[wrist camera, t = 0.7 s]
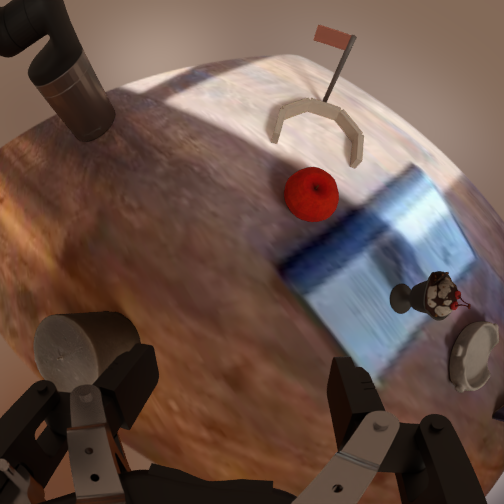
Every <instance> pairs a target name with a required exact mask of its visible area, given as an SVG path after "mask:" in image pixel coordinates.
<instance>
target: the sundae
mask: <svg viewBox="0 0 504 504" xmlns="http://www.w3.org/2000/svg"><path fill="white" fill-rule="evenodd" d="M448 274H449V272H441V271H437V272H432V273H431V275H430V276H429V278H428V280H427V281H424V282H422V283H419V284H417V285H416V286H414V287H413V288H412V290H411V289H410V288H409V287H408V286H407V285H405V284H398V285H397V286H395V287H394V288H393V290H392V292H391V295H390V303H391V306H392V308H393V310H394V311H395V312H397V313H399V314H403V313H405V312H407V311H408V310H409V309H410V307H412V308H413V309H415V310H417V311H420V312H423V313H427V314H428V315H430V316H431V317H432V318H433V319H435V320H443V319H445V318H446V317H447V316H448V315H449V314H450V313H451V312H452V310H456V309H457V307H458V306H466V307H468V309H470V304H468V303H466V302H464V301H463V300H462V298H461V292H460V291H458V290H457V286H456V285H455V284H454V283H453V282H452V280H451V278H450V276H449V275H448ZM459 298H460V299H461V300H462V301H463V302H464V303H466V304H468V306H467V305H462V304H460V305H458V302H457V299H459Z"/></svg>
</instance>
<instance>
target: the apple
mask: <svg viewBox="0 0 504 504" xmlns="http://www.w3.org/2000/svg"><path fill="white" fill-rule="evenodd" d="M284 198H285V202H286V204H287V206H288V208H289V210H290V211H291V212H292V213H293V214H294V215H295V216H296V217H297V218H299V219H301V220H305V221H308V222H319V221H322V220H325V219H327V218H328V217H330V216H331V215H332V214H333V212H334V211H335V210H336V208H337V204H338V201H339V192H338V189H337V184H336V182H335V179H334V178H333V177H332V176H331V175H330V174H329V173H327V172H326V171H324V170H322V169H320V168H317V167H308V168H304V169H301V170H299V171H298V172H296V173H294V174H293V175H292V176H291V177H290V178H289V179H288V181H287V182H286V185H285V191H284Z"/></svg>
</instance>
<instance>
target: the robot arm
mask: <svg viewBox="0 0 504 504" xmlns="http://www.w3.org/2000/svg"><path fill="white" fill-rule="evenodd" d="M47 34H48V35H49V36H50V40H49V41H48V43H47V44H46V45H45V46H44V48H43V49H42V50H41V51H40V52H39V53H38V54H37V55H36V57H35V58H34V59H33V61H32V63H31V64H30V67H29V69H28V76H29V78H30V80H31V81H32V82H33V84H34V85H35V86H36V88H37V89H38V90H39V92H40V93H41V94H42V95H43V97H44V98H45V99H46V101H47V102H48V103H49V104H50V106H51V107H52V108H53V110H54V111H55V112H56V113H57V115H58V116H59V117H60V118H61V119H62V121H63V122H64V123H65V124H66V126H67V127H68V128H69V129H70V131H71V132H72V133H73V134H74V135H75V137H76V138H77V139H78V140H80V141H91V140H93V139H96V138H98V137H99V136H101V135H102V134H103V133H104V132H106V131H107V130H108V128H109V127H110V126H111V124H112V122H113V120H114V118H115V110H114V108H113V106H112V105H111V103H110V101H109V99H108V97H107V95H106V93H105V91H104V89H103V88H102V86H101V84H100V82H99V80H98V78H97V76H96V74H95V72H94V70H93V68H92V66H91V64H90V62H89V60H88V58H87V56H86V54H85V52H84V50H83V48H82V46H81V44H80V42H79V40H78V37H77V35H76V33H75V31H74V28H73V26H72V24H71V21H70V19H69V16H68V13H67V10H66V7H65V4H64V1H63V0H12V1H11V2H9V3H8V4H7V5H5V6H4V7H0V56H3V57H13V56H15V55H17V54H19V53H20V52H22V51H23V50H25V49H26V48H27V47H29V46H30V45H32V44H33V43H35V42H36V41H38V40H39V39H41V38H42V37H44V36H45V35H47ZM158 379H159V371H158V366H157V361H156V356H155V351H154V347H153V346H152V345H146V344H141V343H136V344H135V345H134V346H133V347H132V349H131V350H130V351H129V352H128V351H126V352H124V353H122V354H120V355H119V356H117V357H116V358H115V360H114V361H113V362H112V363H111V364H110V365H109V366H108V369H107V368H106V370H105V371H104V372H103V373H102V374H101V375H100V376H99V377H98V379H97V380H96V381H95V382H94V383H93V384H92V385H89V384H85V385H80V386H78V387H76V388H75V389H73V390H72V392H71V393H70V392H61V391H57V388H56V386H55V384H54V383H53V382H51V381H49V380H41V381H38V382H36V383H34V384H33V385H32V386H31V387H30V388H29V389H28V390H27V391H26V392H25V393H24V394H23V395H22V396H21V397H20V398H19V399H18V400H17V401H16V402H15V403H14V404H13V405H12V406H11V407H10V409H9V410H8V411H7V412H6V413H5V414H4V415H3V416H2V417H1V418H0V504H357V502H358V501H359V499H360V498H361V496H362V495H363V493H364V492H365V490H366V489H367V487H368V486H369V484H370V483H371V481H372V479H373V478H374V476H375V474H376V473H377V472H392V473H395V475H396V479H397V484H398V488H399V493H400V497H401V502H402V504H487V501H486V499H485V496H484V494H483V491H482V488H481V486H480V483H479V481H478V479H477V476H476V474H475V472H474V469H473V467H472V465H471V463H470V460H469V458H468V456H467V454H466V452H465V450H464V448H463V446H462V443H461V441H460V439H459V437H458V435H457V433H456V431H455V430H454V428H453V426H452V424H451V422H450V421H449V420H448V419H447V418H446V417H444V416H442V415H438V414H431V415H428V416H426V417H424V418H423V419H422V421H421V422H420V424H409V423H401V422H399V420H398V419H397V417H396V416H395V415H393V414H391V413H389V412H386V411H385V409H384V406H383V404H382V402H381V399H380V397H379V395H378V393H377V390H376V389H375V386H374V383H372V379H371V377H370V375H369V373H368V372H367V371H366V370H364V369H363V368H362V367H355V366H354V363H353V361H352V358H351V357H334V358H333V360H332V364H331V369H330V374H329V379H328V384H327V398H328V403H329V408H330V413H331V417H332V422H333V428H334V433H335V438H336V443H337V449H338V452H337V453H336V454H335V455H334V456H333V457H332V459H331V460H330V461H329V462H328V464H327V465H326V466H325V467H324V468H323V470H322V471H321V472H320V473H319V474H318V475H317V477H316V478H315V479H314V480H313V481H312V482H311V483H310V484H309V485H308V486H307V488H306V489H305V490H304V491H303V492H302V493H301V494H300V495H299V496H298V497H296V496H295V495H293V494H290V493H288V492H286V491H283V490H280V489H275V488H273V481H264V480H246V479H238V480H227V481H206V480H203V479H200V478H198V477H195V476H193V475H190V474H188V473H186V472H183V471H181V470H178V469H173V468H169V467H165V466H161V465H157V464H153V463H152V464H151V466H150V469H149V470H134V471H131V469H130V467H129V465H128V462H127V459H126V456H125V453H124V450H123V447H122V443H121V440H120V437H119V434H118V430H119V428H120V427H121V428H124V429H127V430H130V429H131V427H132V425H133V424H134V422H135V420H136V418H137V417H138V415H139V413H140V412H141V410H142V408H143V407H144V405H145V403H146V402H147V400H148V398H149V397H150V395H151V393H152V391H153V390H154V388H155V386H156V385H157V383H158ZM44 420H45V422H46V424H47V427H46V428H45V429H44V431H43V432H42V433H41V435H40V436H39V437H38V439H37V440H35V431H36V429H37V428H38V427H39V426H40V424H41V423H42V422H43V421H44ZM67 451H69V458H70V465H71V472H72V477H73V483H74V488H75V492H74V493H71V494H68V495H64V496H61V497H58V498H55V499H51V500H48V501H46V500H45V498H44V497H45V493H44V488H45V486H46V485H47V483H48V481H49V480H50V478H51V476H52V475H53V473H54V471H55V470H56V468H57V467H58V465H59V463H60V462H61V460H62V459H63V457H64V455H65V454H66V452H67ZM340 451H341V452H340Z"/></svg>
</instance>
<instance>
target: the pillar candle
mask: <svg viewBox="0 0 504 504" xmlns="http://www.w3.org/2000/svg"><path fill="white" fill-rule="evenodd" d="M136 343H140V338H139V334H138V332H137V330H136V328H135V326H134V325H133V324H132V322H131V321H130V320H129V319H128V318H126V317H125V316H124V315H122V314H120V313H118V312H109V311H103V312H89V313H75V314H55V315H51V316H48V317H47V318H45V319H44V320H43V321H42V322H41V323H40V324H39V326H38V328H37V330H36V333H35V337H34V354H35V362H36V364H37V367H38V370H39V372H40V373H41V375H42V376H43V377H44V379H45V380H49V381H51V382H53V383H54V384H55V386H56V388H57V391H61V392H70V393H71V392H72V390H73V389H75V388H76V387H78V386H80V385H85V384H89V385H92V384H93V383H94V382H95V381H96V380H97V379H98V377H99V376H100V375H101V374H102V373H103V372H104V371H105V370H106V368H107V369H108V366H109V365H110V364H111V363H112V362H113V361H114V360H115V358H116V357H117V356H119V355H120V354H122V353H124V352H126V351H128V352H129V351H130V350H131V349H132V347H133V346H134V345H135V344H136Z"/></svg>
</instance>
